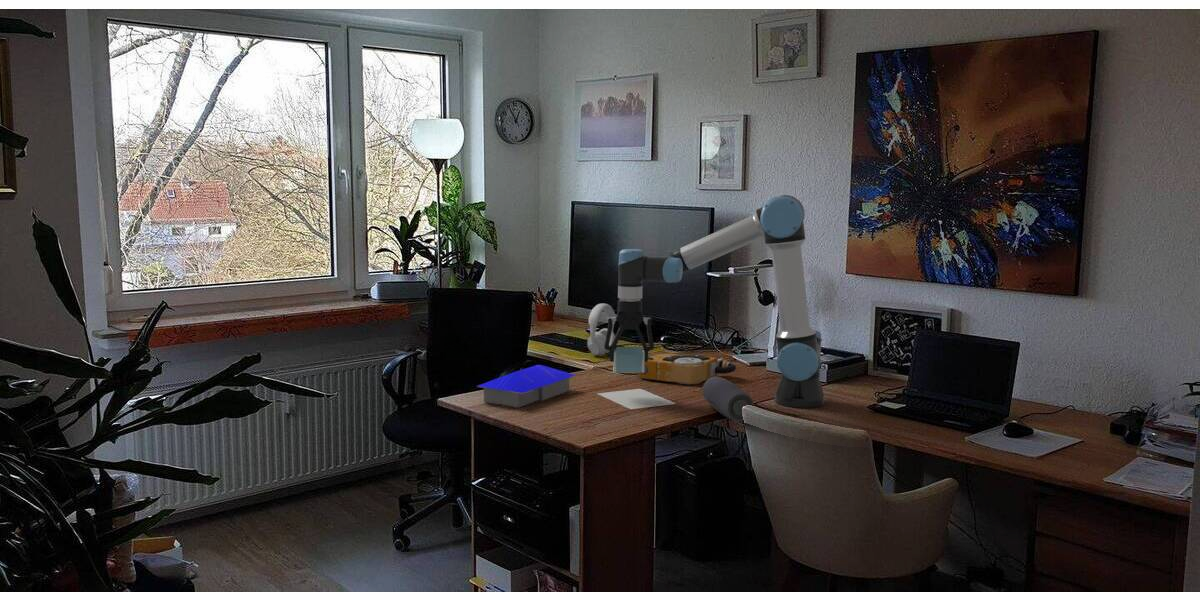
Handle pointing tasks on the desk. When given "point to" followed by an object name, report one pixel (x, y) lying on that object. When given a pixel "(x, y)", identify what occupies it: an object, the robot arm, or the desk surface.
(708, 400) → the bluetooth speaker
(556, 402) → the desk surface
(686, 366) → the device
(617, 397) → the mat
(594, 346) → the headphones
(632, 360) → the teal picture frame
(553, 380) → the blue topped grey box
